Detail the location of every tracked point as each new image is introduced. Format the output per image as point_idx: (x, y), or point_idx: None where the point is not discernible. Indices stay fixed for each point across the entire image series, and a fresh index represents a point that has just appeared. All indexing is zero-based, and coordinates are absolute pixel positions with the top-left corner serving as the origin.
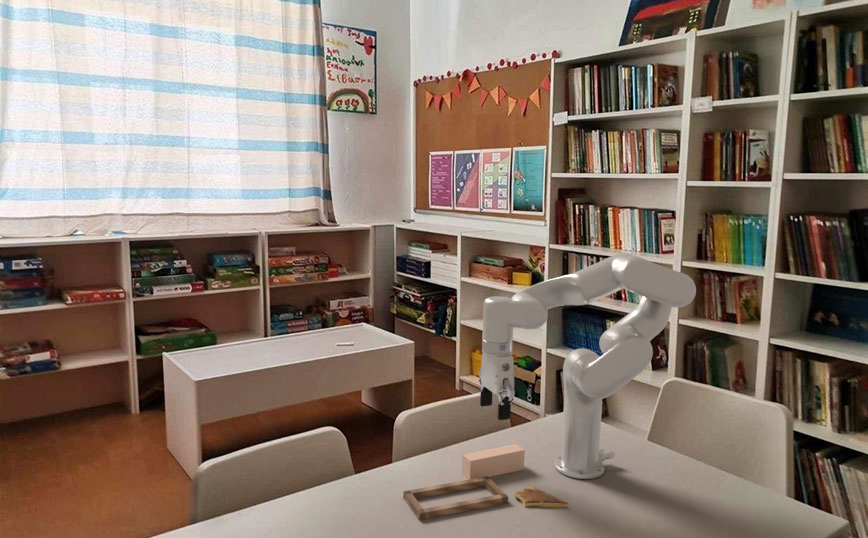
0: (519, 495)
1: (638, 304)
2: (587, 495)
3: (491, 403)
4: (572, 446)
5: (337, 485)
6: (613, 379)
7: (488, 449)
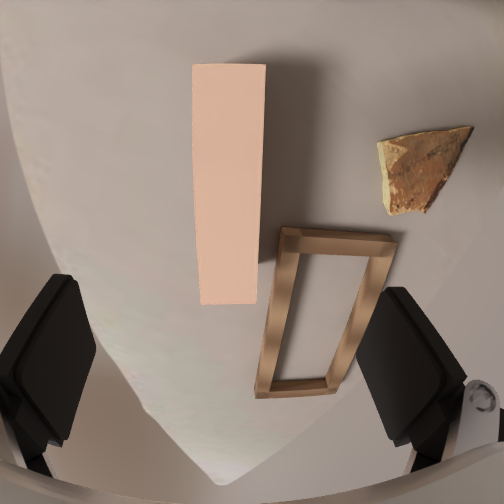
0: (402, 207)
1: None
2: (453, 44)
3: (72, 291)
4: None
5: (175, 430)
6: None
7: (194, 204)
